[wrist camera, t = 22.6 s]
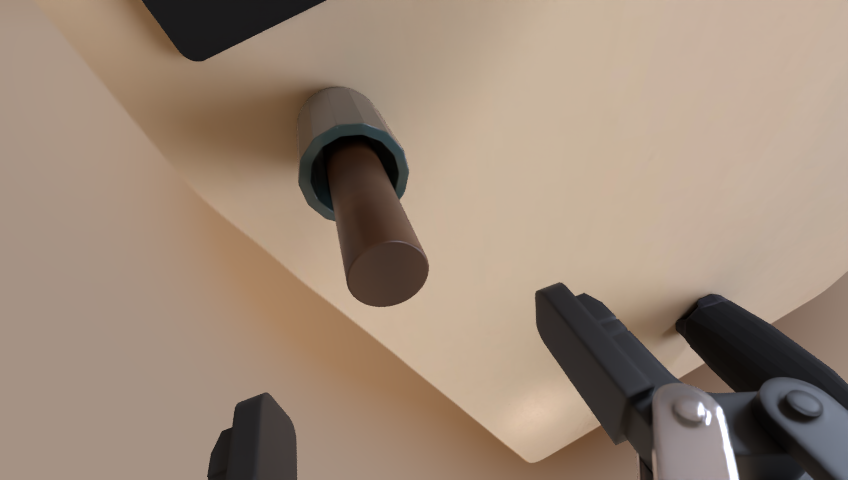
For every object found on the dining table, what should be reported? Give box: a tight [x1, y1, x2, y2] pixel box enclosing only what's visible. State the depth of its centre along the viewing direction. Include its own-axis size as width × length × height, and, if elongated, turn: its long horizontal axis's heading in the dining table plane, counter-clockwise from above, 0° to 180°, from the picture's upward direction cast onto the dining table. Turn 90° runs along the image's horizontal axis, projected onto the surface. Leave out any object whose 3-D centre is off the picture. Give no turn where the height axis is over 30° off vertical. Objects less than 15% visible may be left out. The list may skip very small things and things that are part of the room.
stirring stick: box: [322, 135, 429, 307], centre depth 20 cm, size 3×3×16 cm
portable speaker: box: [676, 294, 848, 410], centre depth 48 cm, size 9×9×20 cm
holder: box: [297, 87, 409, 221], centre depth 24 cm, size 6×6×8 cm
